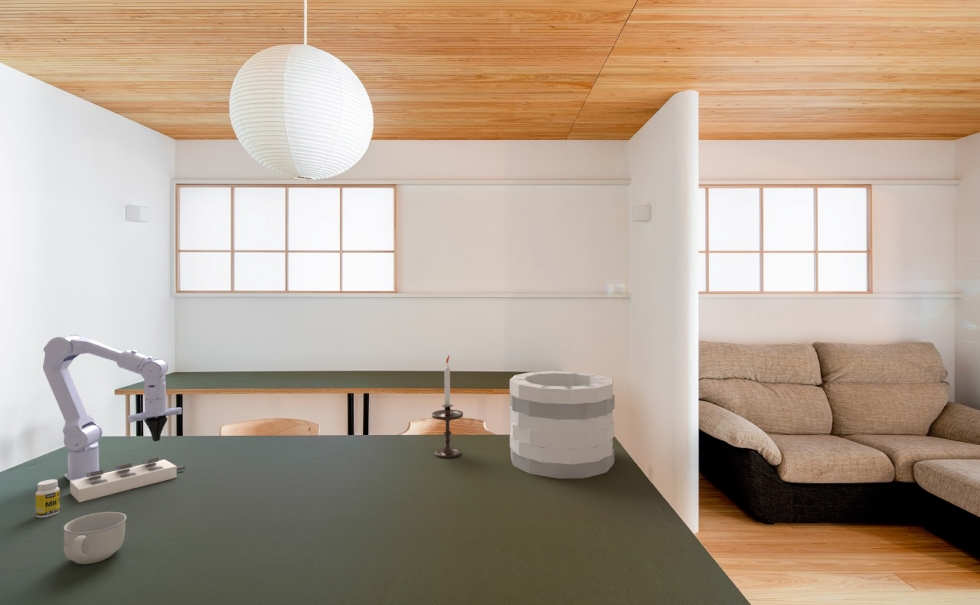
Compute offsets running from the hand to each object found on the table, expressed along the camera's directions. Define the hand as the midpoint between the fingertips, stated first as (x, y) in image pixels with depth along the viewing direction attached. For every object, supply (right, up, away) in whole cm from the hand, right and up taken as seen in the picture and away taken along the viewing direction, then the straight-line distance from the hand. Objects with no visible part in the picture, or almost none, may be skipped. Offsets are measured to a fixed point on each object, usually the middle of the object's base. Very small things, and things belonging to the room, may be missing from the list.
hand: (156, 440), depth 164 cm
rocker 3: (+2, -5, -5) cm, 7 cm away
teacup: (+21, -11, -54) cm, 59 cm away
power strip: (-1, -10, -10) cm, 14 cm away
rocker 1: (-7, -5, -16) cm, 18 cm away
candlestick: (+92, -9, +16) cm, 94 cm away
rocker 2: (-3, -5, -10) cm, 12 cm away
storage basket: (+130, -9, +10) cm, 131 cm away
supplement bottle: (-8, -11, -31) cm, 34 cm away
